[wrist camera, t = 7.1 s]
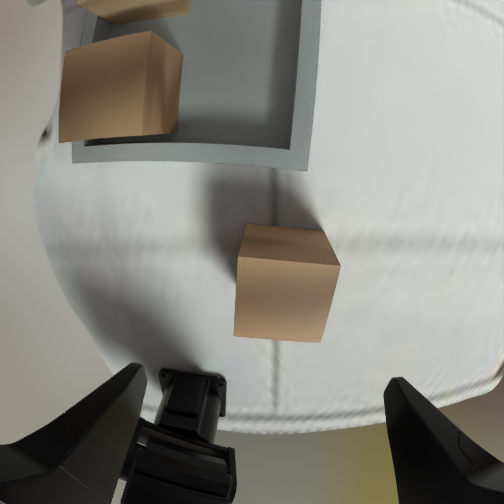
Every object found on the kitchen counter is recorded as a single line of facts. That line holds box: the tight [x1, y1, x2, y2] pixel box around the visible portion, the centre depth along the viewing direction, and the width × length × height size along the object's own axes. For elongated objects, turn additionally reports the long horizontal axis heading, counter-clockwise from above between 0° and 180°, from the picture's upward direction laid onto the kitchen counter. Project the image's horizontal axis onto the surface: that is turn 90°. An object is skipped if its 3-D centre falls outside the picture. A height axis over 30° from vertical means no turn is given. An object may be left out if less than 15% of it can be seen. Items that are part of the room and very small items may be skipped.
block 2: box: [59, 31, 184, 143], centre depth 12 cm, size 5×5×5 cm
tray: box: [72, 0, 321, 171], centre depth 12 cm, size 16×14×2 cm
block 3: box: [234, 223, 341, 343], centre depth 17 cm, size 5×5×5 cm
